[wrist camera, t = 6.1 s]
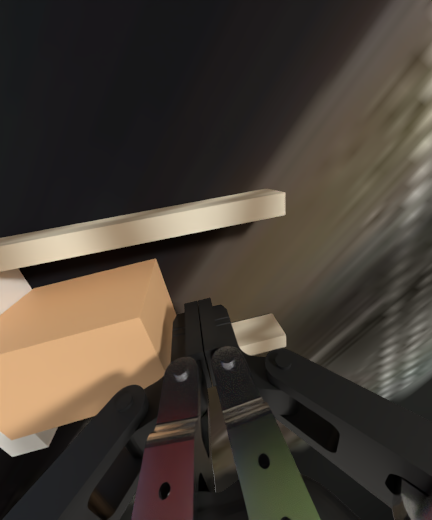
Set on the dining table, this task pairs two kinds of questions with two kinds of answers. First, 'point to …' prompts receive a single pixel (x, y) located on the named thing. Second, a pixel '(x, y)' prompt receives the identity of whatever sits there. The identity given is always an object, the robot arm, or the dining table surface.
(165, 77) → the dining table surface
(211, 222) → the guide lane
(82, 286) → the block
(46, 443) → the stop block
